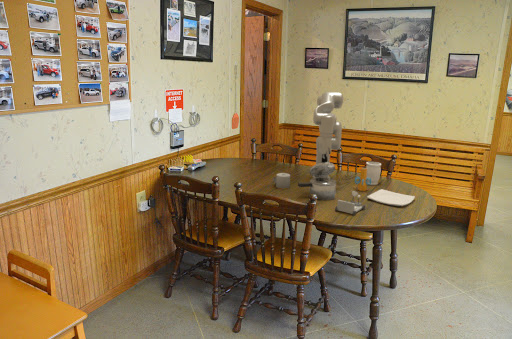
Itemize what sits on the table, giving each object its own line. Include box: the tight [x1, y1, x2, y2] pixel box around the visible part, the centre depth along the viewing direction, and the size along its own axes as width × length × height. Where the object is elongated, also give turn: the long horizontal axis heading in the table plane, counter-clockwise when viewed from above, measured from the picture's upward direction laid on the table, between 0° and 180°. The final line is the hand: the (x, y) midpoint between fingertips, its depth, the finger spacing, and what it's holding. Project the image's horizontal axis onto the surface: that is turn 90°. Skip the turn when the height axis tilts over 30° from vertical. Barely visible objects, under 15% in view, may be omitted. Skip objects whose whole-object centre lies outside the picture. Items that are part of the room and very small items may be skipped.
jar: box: [365, 161, 382, 186], centre depth 289 cm, size 11×10×15 cm
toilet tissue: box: [272, 172, 291, 189], centre depth 277 cm, size 9×13×9 cm
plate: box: [366, 188, 416, 207], centre depth 256 cm, size 24×24×3 cm
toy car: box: [334, 190, 366, 217], centre depth 236 cm, size 18×10×12 cm
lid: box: [309, 161, 336, 177], centre depth 259 cm, size 17×16×4 cm
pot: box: [297, 177, 337, 201], centre depth 258 cm, size 16×24×10 cm
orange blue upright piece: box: [354, 167, 371, 192], centre depth 274 cm, size 12×10×15 cm
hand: (324, 164), depth 255 cm, fingers closed
